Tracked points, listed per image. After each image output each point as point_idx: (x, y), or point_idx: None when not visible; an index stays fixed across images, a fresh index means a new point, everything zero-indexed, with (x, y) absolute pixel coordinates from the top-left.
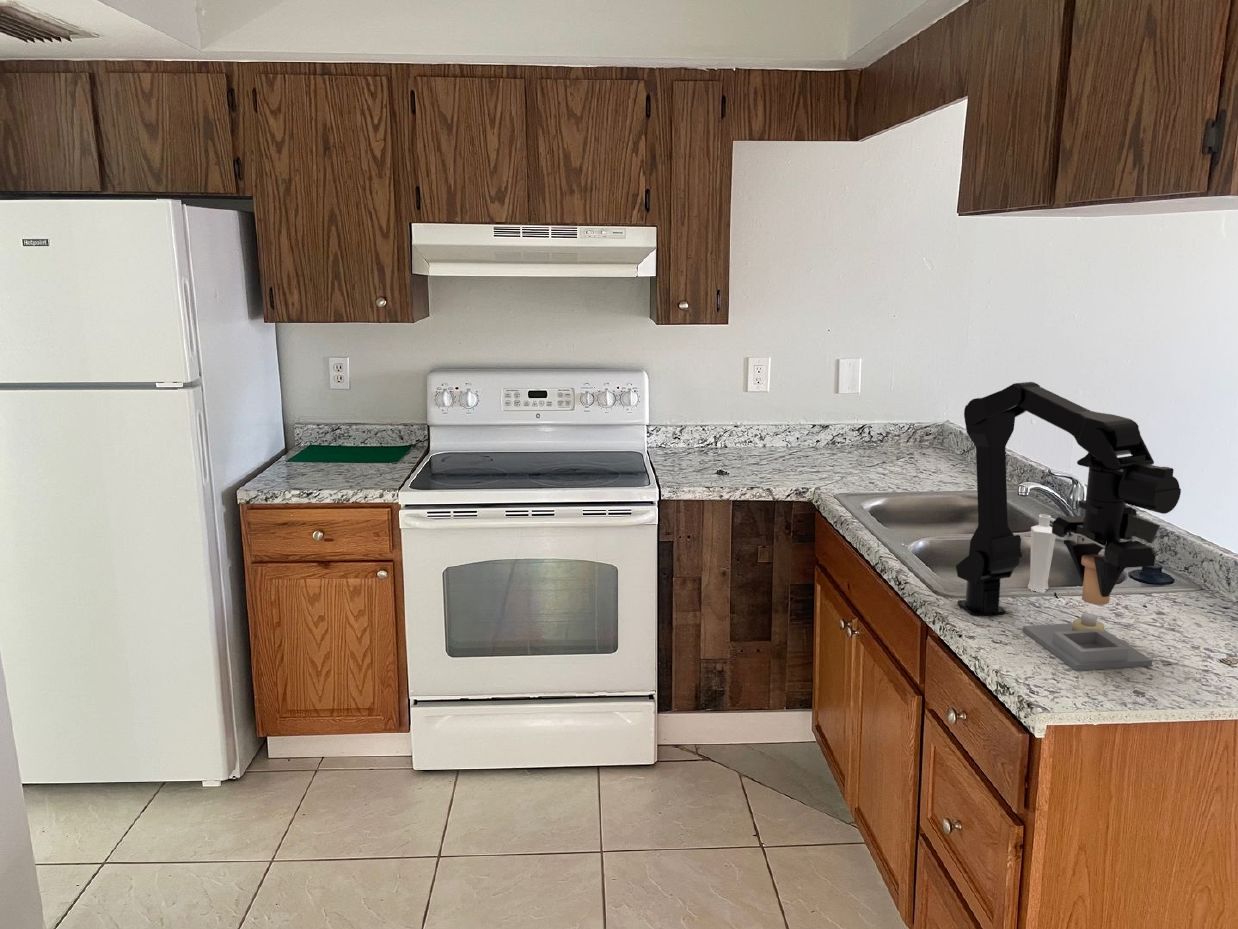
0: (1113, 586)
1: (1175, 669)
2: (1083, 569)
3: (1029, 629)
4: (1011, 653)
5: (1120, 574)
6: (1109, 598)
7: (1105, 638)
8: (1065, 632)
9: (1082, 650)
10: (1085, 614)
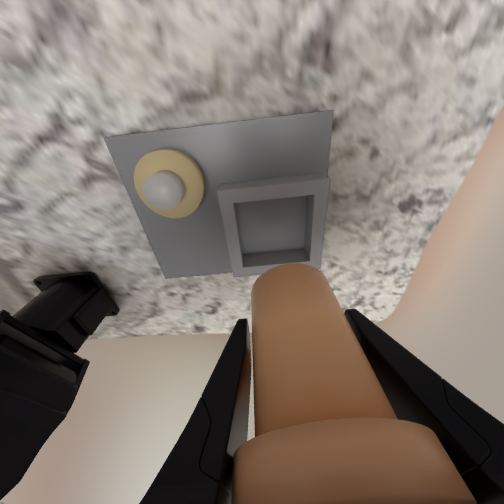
0: (396, 343)
1: (357, 50)
2: (246, 408)
3: (179, 275)
4: (249, 306)
5: (486, 413)
6: (323, 280)
7: (266, 199)
8: (236, 260)
9: (316, 266)
10: (153, 199)
